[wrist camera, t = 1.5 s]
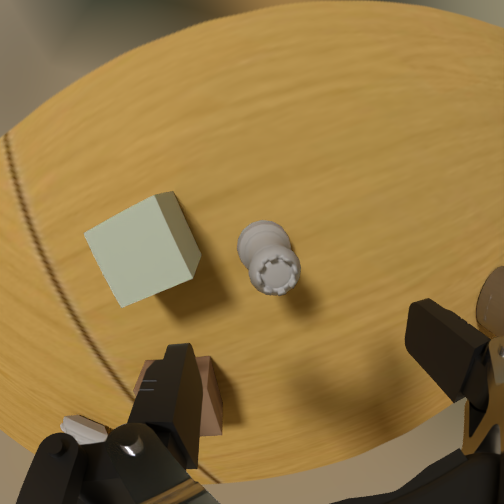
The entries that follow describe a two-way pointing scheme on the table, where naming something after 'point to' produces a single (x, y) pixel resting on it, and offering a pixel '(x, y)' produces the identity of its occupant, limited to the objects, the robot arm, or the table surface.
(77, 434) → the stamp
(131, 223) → the sage block
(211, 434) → the walnut block
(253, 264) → the rook chess piece
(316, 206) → the table surface
